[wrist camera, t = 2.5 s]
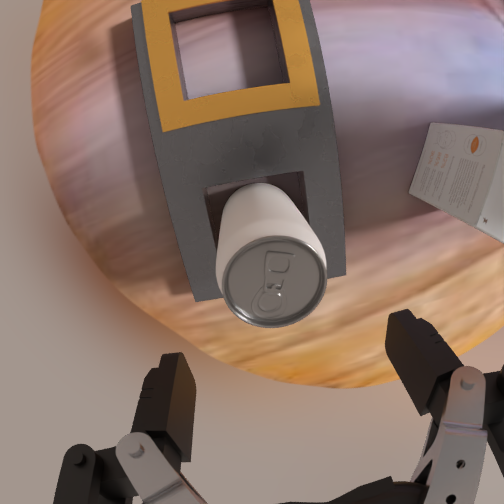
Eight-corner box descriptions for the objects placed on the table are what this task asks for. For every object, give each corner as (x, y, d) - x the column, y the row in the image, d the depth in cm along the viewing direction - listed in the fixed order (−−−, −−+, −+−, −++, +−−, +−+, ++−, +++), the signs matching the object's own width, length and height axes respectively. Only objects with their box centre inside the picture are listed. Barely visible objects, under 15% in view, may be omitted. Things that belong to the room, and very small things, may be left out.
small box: (442, 210, 27) (507, 249, 17) (405, 192, 26) (474, 229, 17) (464, 143, 24) (536, 162, 14) (429, 120, 23) (505, 129, 14)
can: (218, 246, 27) (208, 328, 16) (227, 176, 25) (220, 219, 14) (286, 254, 28) (317, 337, 17) (301, 187, 26) (349, 237, 15)
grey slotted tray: (337, 263, 29) (347, 276, 26) (198, 288, 29) (195, 303, 27) (297, -12, 18) (303, -25, 15) (139, 14, 18) (129, 4, 15)
